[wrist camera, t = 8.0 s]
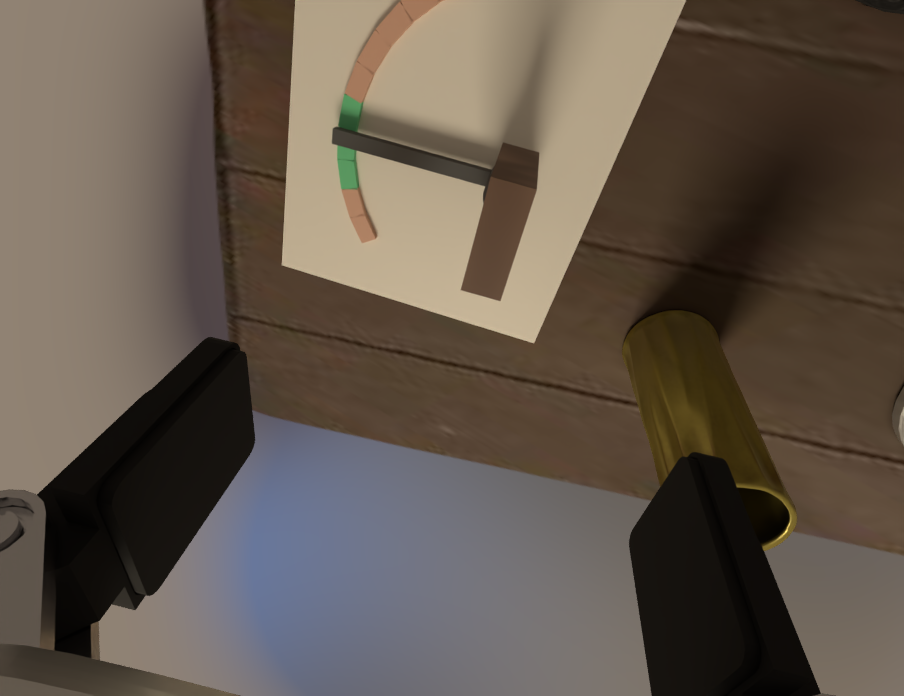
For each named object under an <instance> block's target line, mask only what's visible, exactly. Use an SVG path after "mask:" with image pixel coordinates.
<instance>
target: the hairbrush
mask: <svg viewBox="0 0 904 696" xmlns="http://www.w3.org/2000/svg"><path fill="white" fill-rule="evenodd" d="M856 1H859V2H861V3H864V4H866V6H867V5H869V6H870V7H874V8H876V9H879V10H881V11H884V12H892V13H899V14H904V0H856ZM862 5H863V4H862Z"/></svg>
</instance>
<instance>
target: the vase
mask: <svg viewBox="0 0 904 696" xmlns="http://www.w3.org/2000/svg"><path fill="white" fill-rule="evenodd" d="M622 355H623V360H624V362H625V364H626V367H627V369H628V372H629V375H630V380H631V384H632V387H633V391H634V394H635V397H636V400H637V403H638V407H639V410H640V414H641V418H642V421H643V424H644V428H645V431H646V434H647V437H648V440H649V443H650V447H651V450H652V454H653V458H654V462H655V467H656V471H657V476H658V480H659V484H660V487H661V485H662V484H663V482H664V481H665V479H666V478H667V476H668V475H669V473H670V472H671V470H672V469H673V467H674V466H675V464H676V463H677V461H678V460H679V459H680V458H681V457H682V456H683V457H688V456H689V454H690V453H692V452H698V453H702V454H706V455H711V456H715V457H719V458H723V459H724V460H725V461H726V462H727V464H728V466H729V468H730V471H731V473H732V476H733V478H734V481H735V484H736V486H737V489H738V491H739V494H740V496H741V499H742V501H743V504H744V506H745V509H746V511H747V514H748V516H749V519H750V521H751V524H752V526H753V529H754V531H755V534H756V536H757V538H758V540H759V542H760V544H761V545H762V548H763V550H764V551H766V550H769V549H771V548H773V547H775V546H777V545H779V544H780V543H782V542H783V541H784V540H785V539H786V538H788V536H789V535H790V534H791V532H792V531H793V530H794V528H795V526H796V524H797V513H796V508H795V506H794V504H793V502H792V500H791V498H790V497H789V495H788V493H787V491H786V489H785V487H784V484H783V482H782V480H781V478H780V476H779V474H778V471H777V469H776V467H775V464H774V462H773V460H772V458H771V456H770V454H769V452H768V449H767V447H766V445H765V443H764V441H763V439H762V436H761V434H760V432H759V430H758V427H757V425H756V423H755V421H754V419H753V417H752V415H751V412H750V410H749V408H748V406H747V403H746V401H745V399H744V397H743V394H742V392H741V390H740V388H739V386H738V384H737V382H736V379H735V377H734V375H733V373H732V371H731V368H730V366H729V363H728V361H727V359H726V356H725V354H724V352H723V349H722V347H721V345H720V343H719V337H718V334H717V332H716V331H715V329H714V327H713V326H712V325H711V324H710V322H709V321H708V320H706V319H705V318H704V317H702V316H700V315H698V314H695V313H692V312H689V311H683V310H670V311H664V312H660V313H657V314H654V315H651V316H649V317H647V318H645V319H643V320H642V321H640V322H639V323H638V324H636V325H635V326H634V327H633V328H632V329H631V330H630V332H629V333H628V335H627V337H626V339H625V341H624V344H623V349H622Z"/></svg>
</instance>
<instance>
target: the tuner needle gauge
mask: <svg viewBox="0 0 904 696" xmlns="http://www.w3.org/2000/svg"><path fill="white" fill-rule="evenodd" d="M332 144H335V145H338V146H342V147H345V148H349V149H352V150H356V151H360V152H363V153H367V154H370V155H374V156H378V157H381V158H385V159H388V160H392V161H395V162H399V163H403V164H406V165H410V166H413V167H417V168H421V169H424V170H428V171H431V172H435V173H438V174H442V175H446V176H449V177H453V178H456V179H460V180H464V181H467V182H471V183H474V184H478V185H481V186H485V189H484V192H483V203H484V204H483V208H482V212H481V215H480V219H479V223H478V227H477V230H476V234H475V238H474V242H473V245H472V249H471V253H470V257H469V261H468V264H467V268H466V272H465V276H464V279H463V283H462V287H461V290H462V291H465V292H469V293H472V294H476V295H480V296H483V297H487V298H490V299H494V300H497V301H501V298H502V295H503V292H504V289H505V286H506V283H507V280H508V277H509V273H510V270H511V267H512V264H513V261H514V258H515V255H516V252H517V249H518V246H519V243H520V240H521V237H522V234H523V231H524V228H525V225H526V222H527V219H528V215H529V212H530V209H531V206H532V203H533V200H534V197H535V194H536V191H537V182H538V167H539V152H536V151H532V150H529V149H525V148H521V147H518V146H514V145H511V144H507V143H504V142H503V144H502V147H501V149H500V152H499V155H498V158H497V161H496V164H495V166H494V167H493V168H492V170H491V169H488V168H484V167H481V166H477V165H474V164H470V163H466V162H463V161H459V160H456V159H452V158H448V157H445V156H441V155H438V154H434V153H431V152H427V151H423V150H420V149H416V148H413V147H409V146H405V145H402V144H398V143H395V142H391V141H387V140H384V139H380V138H377V137H373V136H370V135H366V134H362V133H359V132H355V131H352V130H348V129H344V128H341V127H337V126H336V127H334V128H333V131H332Z"/></svg>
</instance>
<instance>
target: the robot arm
mask: <svg viewBox="0 0 904 696" xmlns="http://www.w3.org/2000/svg"><path fill="white" fill-rule="evenodd" d="M892 422H893V429H894V431H895V434H896V436H897V438H898V439H899V441H900V442H901V443H902V445H903V446H904V387H903V389H902V391H901V392H900V394H899V396H898V398H897V400H896V402H895V406H894V409H893V413H892ZM254 443H255V433H254V423H253V414H252V404H251V394H250V385H249V375H248V366H247V357H246V354H245V352H242V351H240V347H239V345H238V344H237V343H234V342H230V341H225V340H221V339H217V338H213V337H208V338H206V339H205V340H204V341H202V342H201V343H200V344H199V345H198V346H197V347H196V348H195V349H194V350H193V351H192V352H191V353H190V354H188V355H187V357H185V358H184V359H183V360H182V361H181V362H180V363H179V364H178V365H177V366H176V367H175V368H174V369H173V370H172V371H170V372H169V373H168V374H167V375H166V376H165V377H164V378H163V379H162V380H161V381H160V382H159V383H158V384H157V385H156V386H155V387H154V388H153V389H151V390H149V391H148V392H147V393H145V394H144V395H143V396H142V397H141V398H139V399H138V400H137V401H136V402H135V403H134V404H133V405H132V406H131V407H130V408H129V409H128V410H127V411H126V412H125V413H124V414H123V415H121V416H120V417H119V418H118V419H117V420H116V421H115V422H114V423H113V424H112V425H111V426H110V427H109V428H108V429H106V430H105V431H104V432H103V433H102V434H101V435H100V436H99V437H98V438H97V439H96V440H95V441H94V442H93V443H92V444H91V445H89V446H88V447H87V448H86V449H85V450H84V451H83V452H82V453H81V454H80V455H79V456H78V457H77V458H76V459H75V460H73V461H72V462H71V463H70V464H69V465H68V466H67V467H66V468H65V469H64V470H63V471H62V472H61V473H60V474H59V475H58V476H57V477H56V478H54V479H53V480H52V481H51V482H50V483H49V484H48V485H47V486H46V487H45V488H44V489H43V490H42V491H40V492H39V494H37V495H36V494H34V493H31V492H28V491H25V490H3V491H0V696H239V695H236V694H231V693H228V692H224V691H220V690H216V689H212V688H209V687H205V686H201V685H197V684H193V683H189V682H186V681H182V680H178V679H174V678H170V677H166V676H163V675H159V674H154V673H150V672H146V671H142V670H138V669H133V668H129V667H125V666H121V665H117V664H113V663H108V662H104V661H100V652H99V623H98V621H100V619H101V618H102V617H103V615H104V614H105V612H106V611H107V610H108V609H109V607H110V606H111V604H113V605H117V606H121V607H125V608H128V609H133V610H136V609H137V607H138V606H139V604H140V602H141V601H142V600H143V598H144V597H145V596H146V595H147V596H150V595H153V594H154V593H155V592H156V591H157V590H158V589H159V588H160V586H161V585H162V584H163V582H164V581H165V579H166V578H167V576H168V575H169V573H170V572H171V570H172V569H173V567H174V566H175V564H176V563H177V561H178V560H179V558H180V557H181V555H182V554H183V553H184V551H185V549H186V548H187V547H188V545H189V543H190V542H191V541H192V539H193V538H194V536H195V535H196V533H197V532H198V530H199V529H200V528H201V526H202V525H203V523H204V521H205V520H206V519H207V517H208V516H209V514H210V513H211V511H212V510H213V508H214V507H215V505H216V504H217V502H218V501H219V499H220V498H221V496H222V495H223V493H224V492H225V490H226V489H227V488H228V486H229V485H230V483H231V482H232V480H233V479H234V477H235V476H236V474H237V473H238V471H239V470H240V468H241V467H242V466H243V464H244V463H245V461H246V460H247V458H248V456H249V455H250V453H251V452H252V449H253V447H254ZM629 547H630V555H631V561H632V568H633V575H634V580H635V588H636V594H637V601H638V607H639V614H640V621H641V627H642V633H643V640H644V647H645V654H646V660H647V667H648V673H649V680H650V687H651V693H652V696H835V695H828V694H821V693H820V690H819V688H818V685H817V683H816V680H815V678H814V675H813V673H812V670H811V668H810V665H809V663H808V660H807V658H806V655H805V653H804V650H803V648H802V645H801V643H800V640H799V638H798V635H797V633H796V630H795V628H794V625H793V623H792V620H791V618H790V615H789V613H788V610H787V608H786V605H785V603H784V600H783V598H782V595H781V593H780V590H779V588H778V586H777V583H776V580H775V578H774V575H773V573H772V570H771V568H770V565H769V563H768V560H767V558H766V555H765V553H764V550H763V548H762V545H761V544H760V542H759V540H758V538H757V536H756V534H755V531H754V529H753V526H752V524H751V521H750V519H749V516H748V514H747V511H746V509H745V506H744V504H743V501H742V499H741V496H740V494H739V491H738V489H737V486H736V484H735V481H734V478H733V476H732V473H731V471H730V468H729V466H728V464H727V462H726V461H725V460H724V459H723V458H719V457H715V456H711V455H706V454H702V453H698V452H692V453H690V454H689V456H688V457H683V456H682V457H681V458H680V459H679V460H678V461H677V463H676V464H675V466H674V467H673V469H672V470H671V472H670V473H669V475H668V476H667V478H666V479H665V481H664V482H663V484H662V485H661V487H660V489H659V490H658V492H657V493H656V495H655V496H654V498H653V499H652V501H651V502H650V504H649V505H648V507H647V508H646V510H645V511H644V513H643V515H642V516H641V518H640V519H639V521H638V522H637V524H636V525H635V527H634V528H633V530H632V532H631V535H630V540H629Z"/></svg>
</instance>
